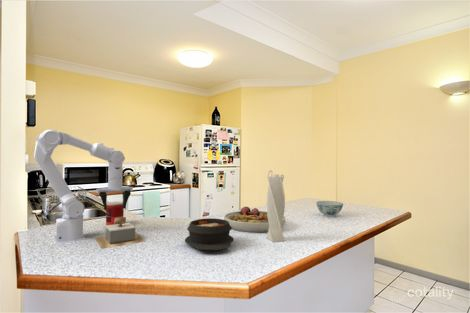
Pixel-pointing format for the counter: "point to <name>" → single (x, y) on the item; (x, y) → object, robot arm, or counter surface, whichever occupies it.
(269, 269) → the counter surface
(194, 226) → the casserole
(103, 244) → the cork trivet
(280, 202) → the skyscraper
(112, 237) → the grey rectangular block
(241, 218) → the bowl
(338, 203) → the chinaware
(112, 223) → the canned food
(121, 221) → the plunger
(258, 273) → the counter surface
